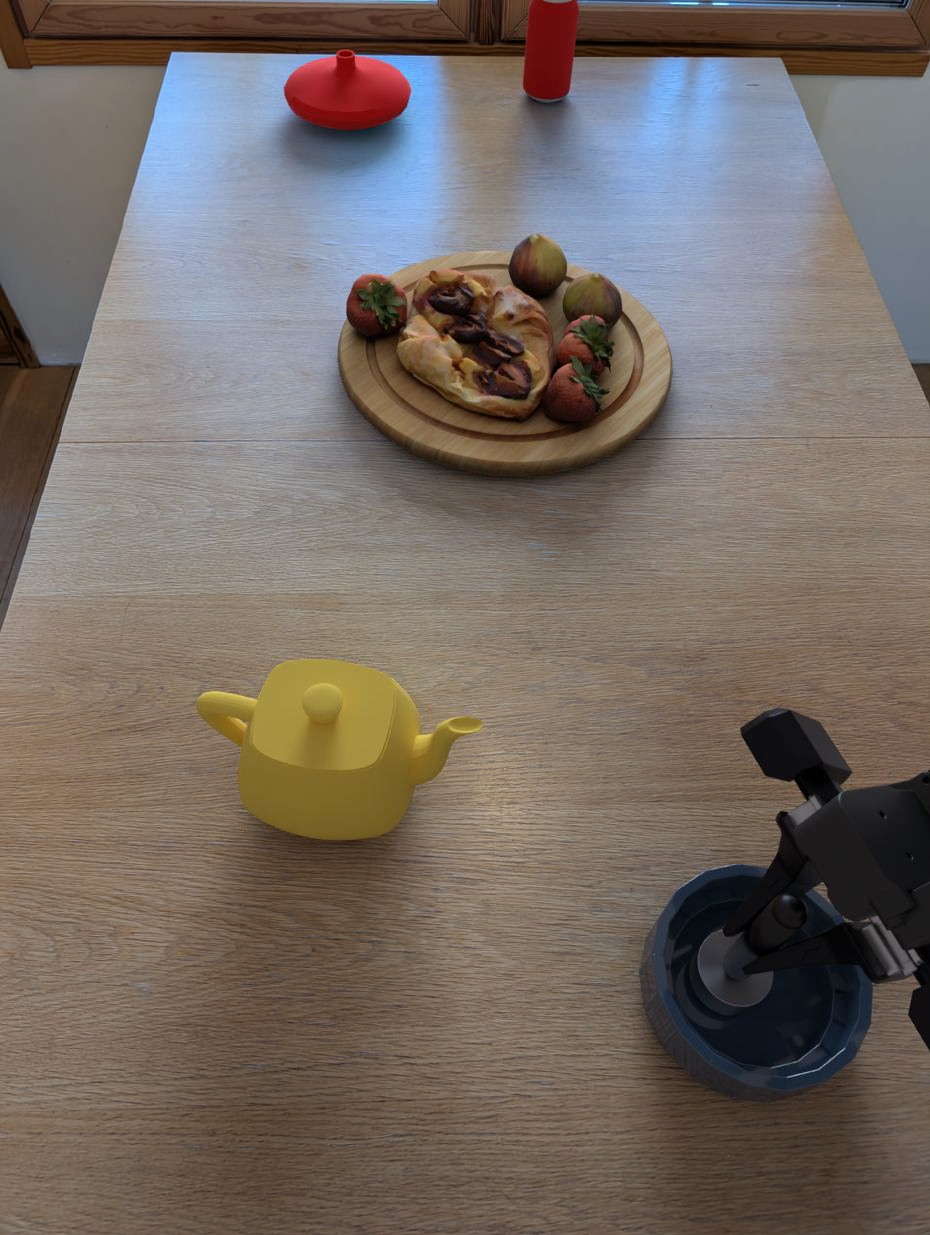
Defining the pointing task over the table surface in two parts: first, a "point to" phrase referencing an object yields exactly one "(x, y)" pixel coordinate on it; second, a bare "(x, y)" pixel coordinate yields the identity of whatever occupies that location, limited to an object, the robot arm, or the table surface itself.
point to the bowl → (773, 1029)
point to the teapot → (330, 748)
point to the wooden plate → (503, 360)
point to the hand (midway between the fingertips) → (736, 952)
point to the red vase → (347, 92)
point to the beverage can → (550, 48)
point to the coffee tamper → (744, 957)
